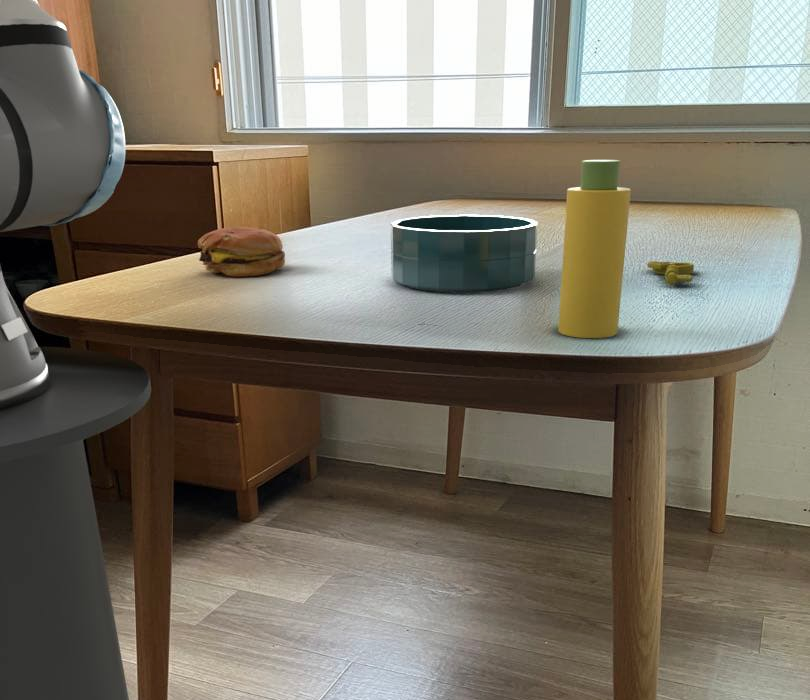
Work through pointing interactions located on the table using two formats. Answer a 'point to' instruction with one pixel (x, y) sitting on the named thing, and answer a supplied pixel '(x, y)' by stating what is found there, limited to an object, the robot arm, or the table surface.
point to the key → (673, 271)
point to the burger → (241, 251)
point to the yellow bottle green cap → (594, 252)
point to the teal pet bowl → (463, 252)
